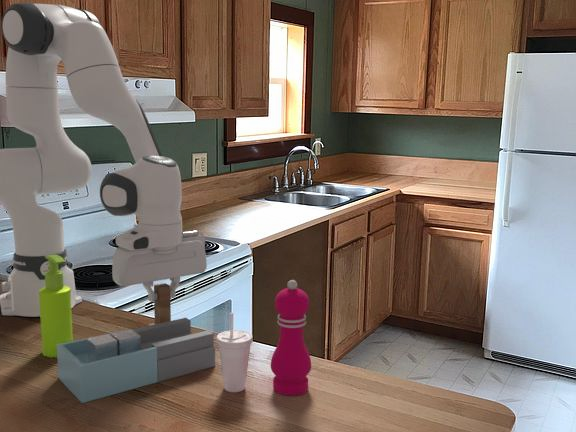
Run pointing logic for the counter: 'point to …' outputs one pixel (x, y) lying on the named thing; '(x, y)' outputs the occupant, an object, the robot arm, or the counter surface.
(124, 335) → the grey cube
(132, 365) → the tray
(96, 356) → the light grey cube
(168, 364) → the groove board
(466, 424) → the counter surface
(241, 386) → the smoothie
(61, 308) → the soap dispenser
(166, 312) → the brown bar
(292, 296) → the pepper mill
